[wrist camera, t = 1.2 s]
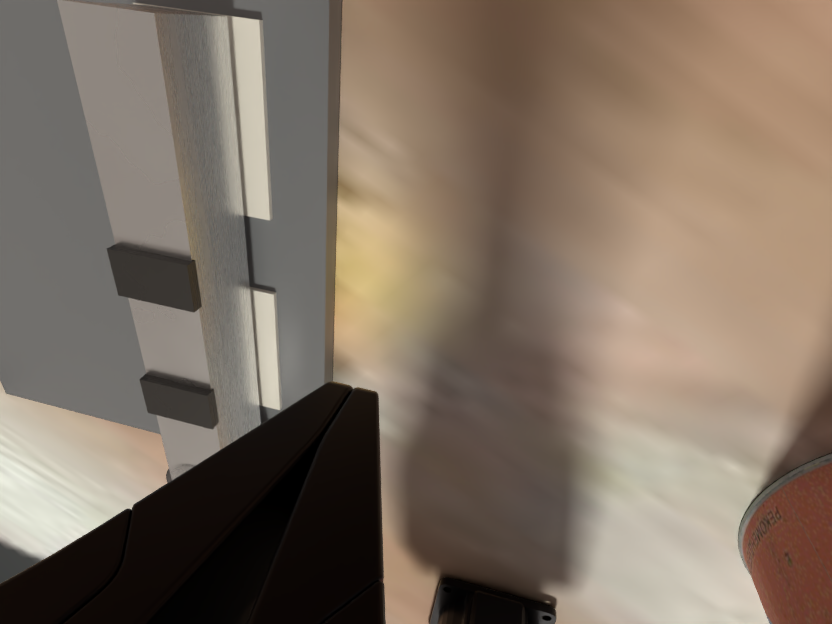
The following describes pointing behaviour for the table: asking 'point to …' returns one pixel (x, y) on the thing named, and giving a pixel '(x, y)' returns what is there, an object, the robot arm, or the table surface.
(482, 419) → the table surface
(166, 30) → the cable arm
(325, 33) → the equipment panel
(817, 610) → the canned food
